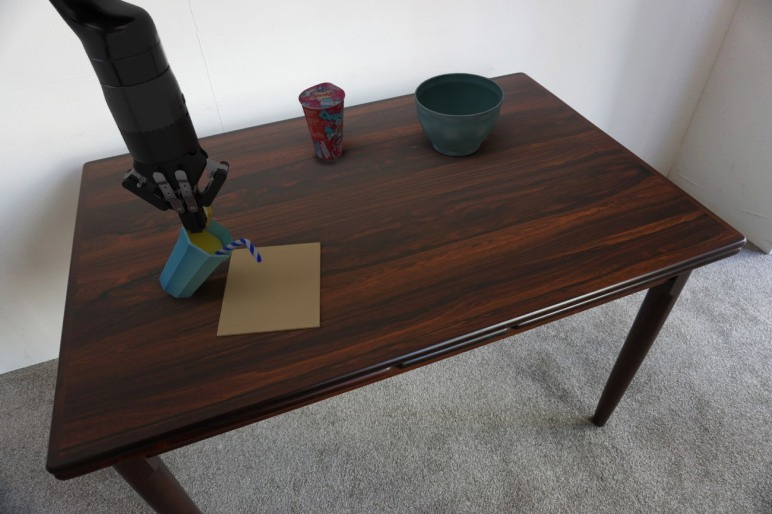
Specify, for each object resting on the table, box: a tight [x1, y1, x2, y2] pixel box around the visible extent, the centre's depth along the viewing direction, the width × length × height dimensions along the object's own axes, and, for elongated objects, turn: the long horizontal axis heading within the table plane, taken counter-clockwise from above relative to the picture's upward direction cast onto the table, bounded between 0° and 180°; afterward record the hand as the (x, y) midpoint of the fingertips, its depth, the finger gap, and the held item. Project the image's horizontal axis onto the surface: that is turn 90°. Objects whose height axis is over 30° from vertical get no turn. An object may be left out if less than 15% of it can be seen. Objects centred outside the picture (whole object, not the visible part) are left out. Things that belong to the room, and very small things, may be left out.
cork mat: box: [216, 241, 321, 338], centre depth 77 cm, size 14×17×1 cm
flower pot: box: [414, 72, 505, 157], centre depth 99 cm, size 16×16×11 cm
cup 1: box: [158, 206, 263, 299], centre depth 72 cm, size 14×8×15 cm
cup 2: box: [297, 81, 346, 161], centre depth 98 cm, size 9×8×12 cm
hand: (198, 228), depth 69 cm, fingers closed
